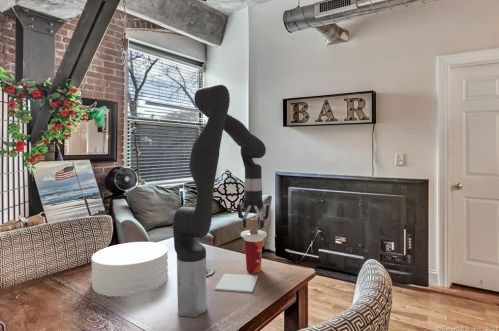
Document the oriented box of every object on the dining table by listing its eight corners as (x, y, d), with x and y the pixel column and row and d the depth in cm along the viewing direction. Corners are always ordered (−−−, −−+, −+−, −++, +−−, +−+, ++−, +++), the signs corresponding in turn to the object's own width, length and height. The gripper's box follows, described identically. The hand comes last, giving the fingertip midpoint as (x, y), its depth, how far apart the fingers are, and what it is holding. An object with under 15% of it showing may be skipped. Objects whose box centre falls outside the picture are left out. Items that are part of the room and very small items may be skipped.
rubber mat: (252, 292, 115) (252, 291, 115) (214, 289, 117) (214, 288, 117) (258, 277, 129) (258, 275, 129) (224, 275, 131) (224, 273, 131)
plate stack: (76, 287, 121) (75, 257, 120) (134, 263, 146) (133, 238, 145) (128, 303, 108) (127, 270, 107) (182, 274, 132) (182, 247, 132)
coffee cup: (263, 274, 132) (263, 238, 131) (243, 274, 132) (243, 238, 131) (263, 266, 140) (263, 232, 139) (244, 266, 140) (244, 232, 139)
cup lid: (264, 239, 129) (264, 222, 128) (238, 238, 131) (238, 221, 130) (268, 232, 140) (268, 216, 139) (243, 231, 142) (243, 216, 141)
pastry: (183, 270, 138) (183, 260, 137) (210, 266, 142) (210, 256, 142) (188, 281, 126) (188, 269, 126) (217, 276, 131) (217, 265, 130)
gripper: (234, 189, 132) (234, 229, 133) (269, 190, 129) (269, 231, 130) (238, 187, 139) (238, 225, 140) (271, 188, 137) (271, 226, 137)
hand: (253, 228), depth 135 cm, fingers open, 6 cm apart
